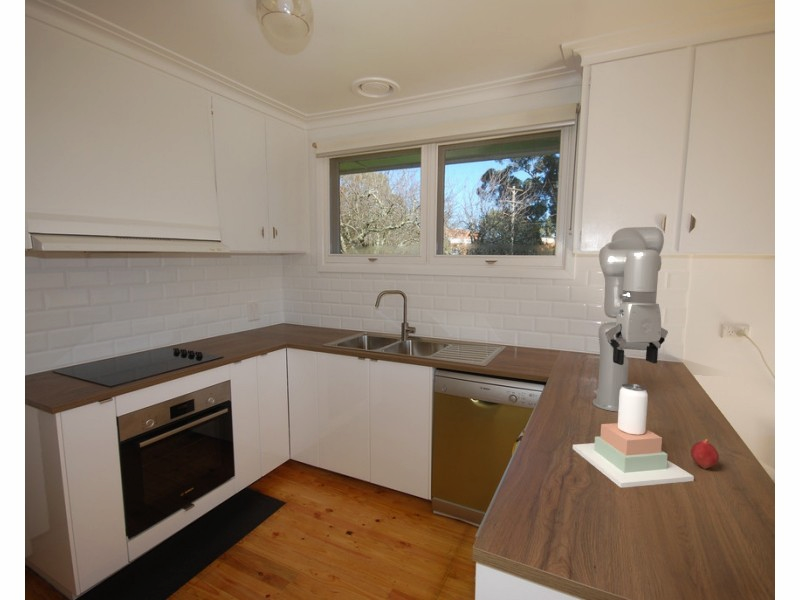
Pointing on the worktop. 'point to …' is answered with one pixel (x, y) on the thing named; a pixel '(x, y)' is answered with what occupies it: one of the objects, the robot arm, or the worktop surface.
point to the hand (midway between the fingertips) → (634, 362)
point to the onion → (704, 454)
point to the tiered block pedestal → (631, 458)
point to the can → (632, 409)
